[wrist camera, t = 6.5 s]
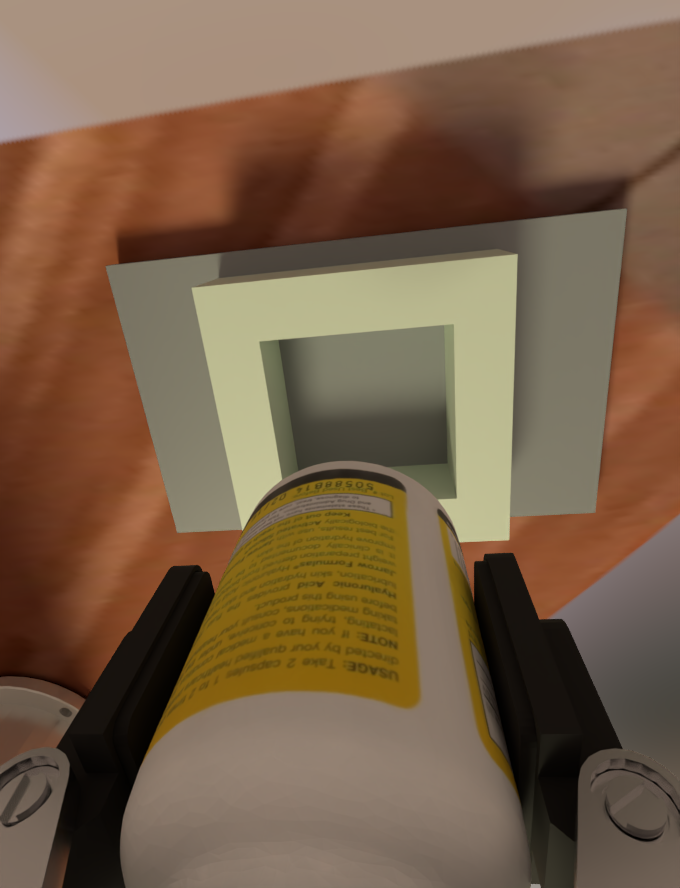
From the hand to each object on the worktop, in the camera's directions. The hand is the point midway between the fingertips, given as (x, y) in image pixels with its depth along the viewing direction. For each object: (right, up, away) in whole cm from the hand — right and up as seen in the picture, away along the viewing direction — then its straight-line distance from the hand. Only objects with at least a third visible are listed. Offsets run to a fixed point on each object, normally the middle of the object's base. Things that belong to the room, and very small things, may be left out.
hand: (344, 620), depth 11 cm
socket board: (+1, +6, +15) cm, 16 cm away
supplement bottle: (0, +1, +3) cm, 3 cm away
